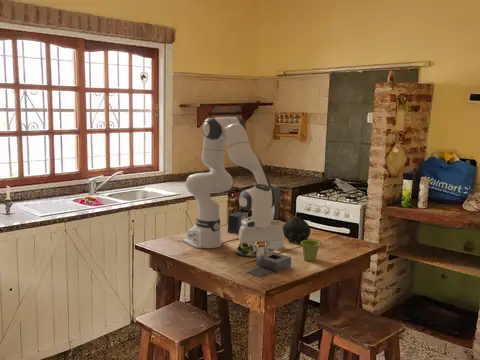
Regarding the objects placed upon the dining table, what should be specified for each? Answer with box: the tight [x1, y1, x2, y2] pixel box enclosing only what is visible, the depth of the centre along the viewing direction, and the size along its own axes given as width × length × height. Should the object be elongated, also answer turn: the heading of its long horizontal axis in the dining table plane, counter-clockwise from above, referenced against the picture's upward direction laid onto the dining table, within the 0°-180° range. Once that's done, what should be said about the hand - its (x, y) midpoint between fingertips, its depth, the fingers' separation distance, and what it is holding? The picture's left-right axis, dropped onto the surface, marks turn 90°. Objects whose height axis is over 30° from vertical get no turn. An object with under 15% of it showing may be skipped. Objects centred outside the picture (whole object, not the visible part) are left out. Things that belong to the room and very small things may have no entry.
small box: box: [227, 211, 247, 234], centre depth 283 cm, size 11×6×10 cm, turn 150°
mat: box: [246, 267, 273, 278], centre depth 218 cm, size 8×8×1 cm
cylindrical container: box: [255, 242, 266, 267], centre depth 216 cm, size 4×4×11 cm
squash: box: [282, 216, 311, 243], centre depth 268 cm, size 14×15×15 cm
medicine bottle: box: [265, 233, 285, 251], centre depth 254 cm, size 7×7×12 cm
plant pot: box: [300, 239, 321, 262], centre depth 237 cm, size 9×9×9 cm
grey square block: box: [257, 251, 292, 274], centre depth 225 cm, size 11×11×5 cm
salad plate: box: [235, 241, 275, 258], centre depth 246 cm, size 19×18×5 cm
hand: (260, 250), depth 216 cm, fingers closed on cylindrical container, 4 cm apart
